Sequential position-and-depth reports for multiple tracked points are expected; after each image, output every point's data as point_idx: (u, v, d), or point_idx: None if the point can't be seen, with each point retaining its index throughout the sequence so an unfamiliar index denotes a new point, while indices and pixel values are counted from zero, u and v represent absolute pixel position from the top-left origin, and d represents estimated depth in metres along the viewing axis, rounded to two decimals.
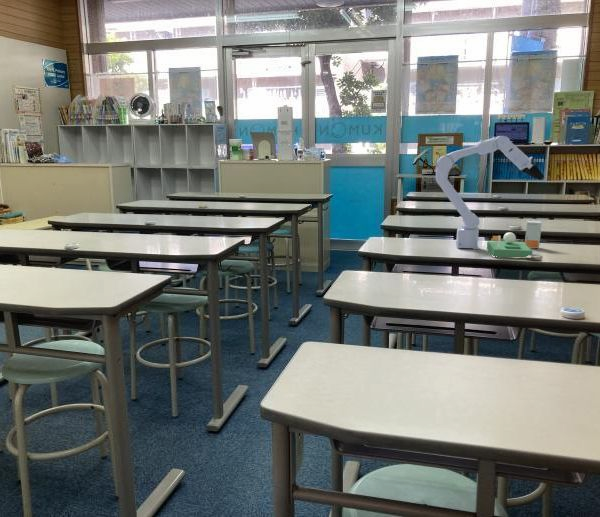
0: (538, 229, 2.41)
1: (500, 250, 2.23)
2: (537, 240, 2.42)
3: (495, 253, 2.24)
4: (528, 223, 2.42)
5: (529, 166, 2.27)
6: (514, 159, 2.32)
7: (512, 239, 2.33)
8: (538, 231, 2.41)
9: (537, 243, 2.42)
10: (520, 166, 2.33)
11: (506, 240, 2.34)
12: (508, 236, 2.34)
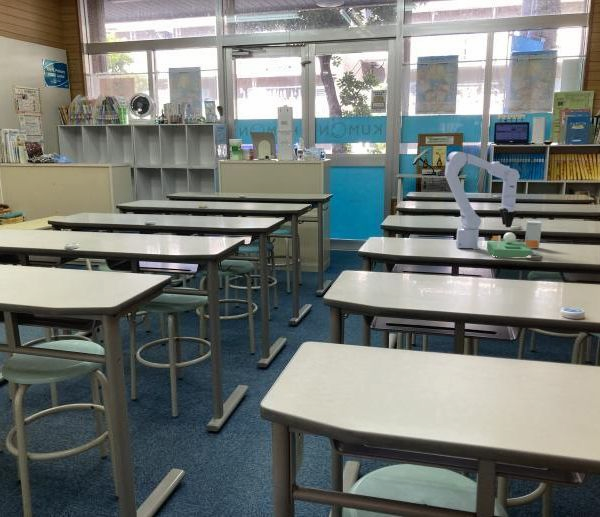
0: (538, 229, 2.41)
1: (500, 250, 2.23)
2: (537, 240, 2.42)
3: (495, 253, 2.24)
4: (528, 223, 2.42)
5: (510, 210, 2.35)
6: (507, 195, 2.38)
7: (512, 239, 2.33)
8: (538, 231, 2.41)
9: (537, 243, 2.42)
10: (504, 204, 2.40)
11: (506, 240, 2.34)
12: (508, 236, 2.34)
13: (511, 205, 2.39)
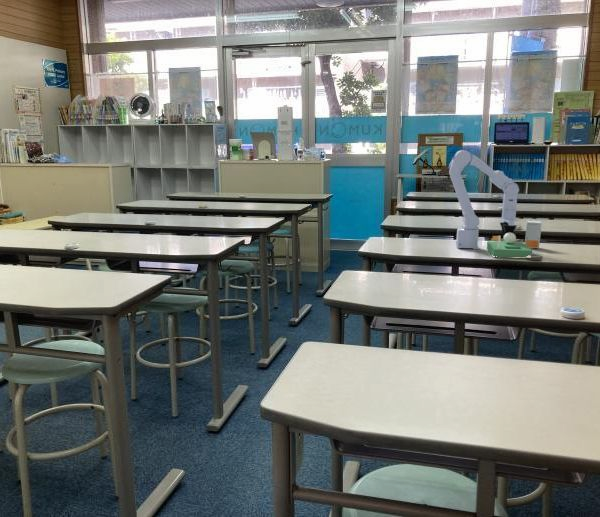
0: (538, 229, 2.41)
1: (500, 250, 2.23)
2: (537, 240, 2.42)
3: (495, 253, 2.24)
4: (528, 223, 2.42)
5: (510, 223, 2.33)
6: (506, 209, 2.37)
7: (512, 240, 2.33)
8: (538, 231, 2.41)
9: (537, 243, 2.42)
10: (504, 218, 2.38)
11: (506, 240, 2.34)
12: (508, 236, 2.33)
13: (511, 219, 2.37)
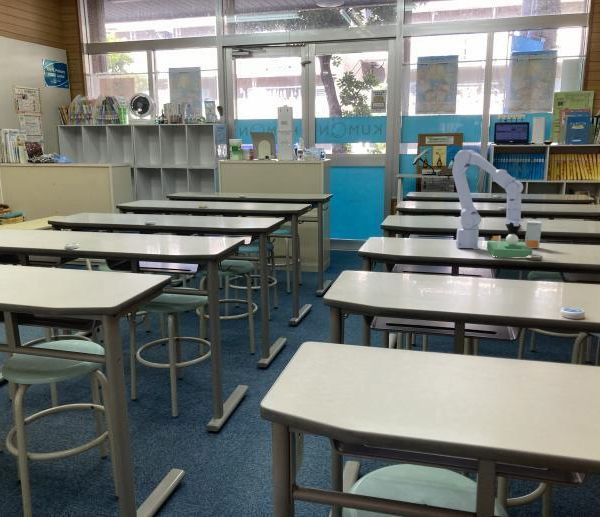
0: (538, 229, 2.41)
1: (500, 250, 2.23)
2: (537, 240, 2.42)
3: (495, 253, 2.24)
4: (528, 223, 2.42)
5: (516, 224, 2.25)
6: (508, 209, 2.30)
7: None
8: (538, 231, 2.41)
9: (537, 243, 2.42)
10: (509, 218, 2.31)
11: None
12: (510, 244, 2.31)
13: (516, 219, 2.29)
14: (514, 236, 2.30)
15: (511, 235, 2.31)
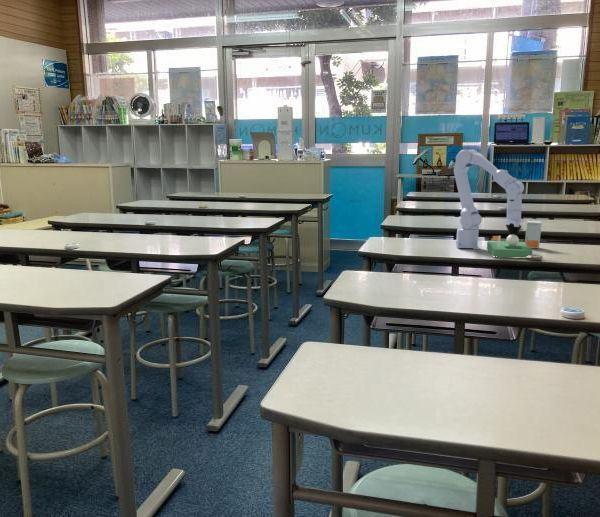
0: (538, 229, 2.41)
1: (500, 250, 2.23)
2: (537, 240, 2.42)
3: (495, 253, 2.24)
4: (528, 223, 2.42)
5: (516, 225, 2.24)
6: (508, 209, 2.29)
7: None
8: (538, 231, 2.41)
9: (537, 243, 2.42)
10: (509, 219, 2.29)
11: None
12: (510, 245, 2.31)
13: (517, 219, 2.28)
14: (514, 240, 2.28)
15: (512, 238, 2.29)
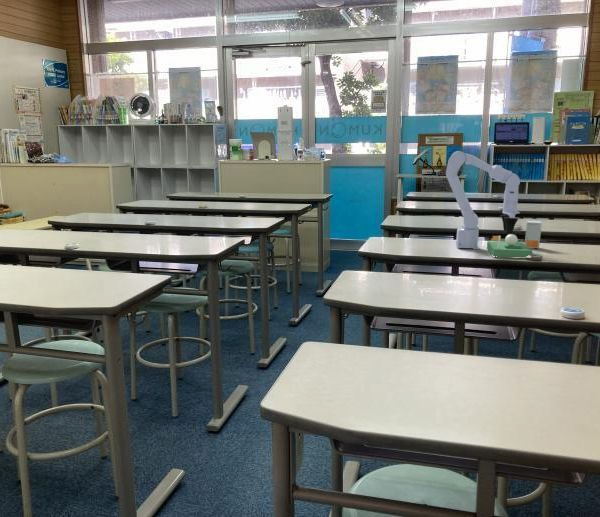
0: (538, 229, 2.41)
1: (500, 250, 2.23)
2: (537, 240, 2.42)
3: (495, 253, 2.24)
4: (528, 223, 2.42)
5: (511, 216, 2.31)
6: (506, 201, 2.35)
7: None
8: (538, 231, 2.41)
9: (537, 243, 2.42)
10: (505, 210, 2.36)
11: None
12: (510, 245, 2.31)
13: (513, 211, 2.34)
14: (513, 239, 2.28)
15: (510, 238, 2.29)
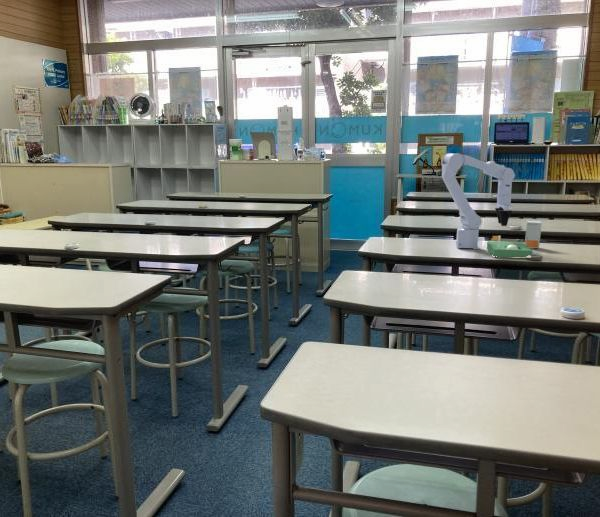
0: (538, 229, 2.41)
1: (500, 250, 2.23)
2: (537, 240, 2.42)
3: (495, 253, 2.24)
4: (528, 223, 2.42)
5: (505, 208, 2.36)
6: (502, 194, 2.40)
7: (516, 247, 2.24)
8: (538, 231, 2.41)
9: (537, 243, 2.42)
10: (499, 203, 2.41)
11: (509, 246, 2.25)
12: None
13: (506, 204, 2.40)
14: None
15: None
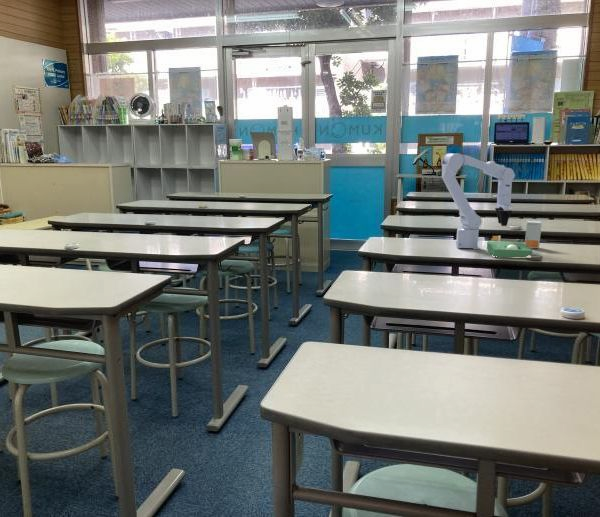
0: (538, 229, 2.41)
1: (500, 250, 2.23)
2: (537, 240, 2.42)
3: (495, 253, 2.24)
4: (528, 223, 2.42)
5: (505, 208, 2.36)
6: (502, 194, 2.40)
7: (516, 246, 2.25)
8: (538, 231, 2.41)
9: (537, 243, 2.42)
10: (499, 203, 2.41)
11: (509, 246, 2.25)
12: None
13: (506, 204, 2.40)
14: None
15: None
